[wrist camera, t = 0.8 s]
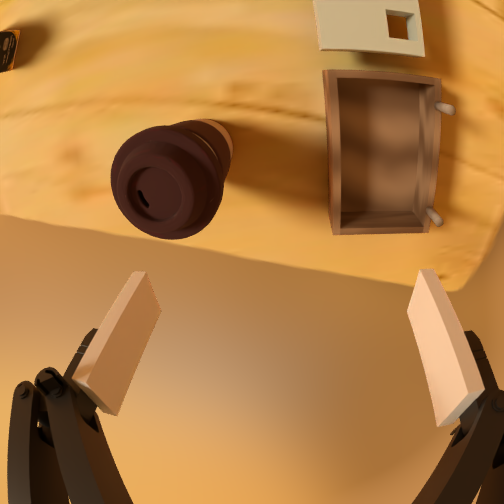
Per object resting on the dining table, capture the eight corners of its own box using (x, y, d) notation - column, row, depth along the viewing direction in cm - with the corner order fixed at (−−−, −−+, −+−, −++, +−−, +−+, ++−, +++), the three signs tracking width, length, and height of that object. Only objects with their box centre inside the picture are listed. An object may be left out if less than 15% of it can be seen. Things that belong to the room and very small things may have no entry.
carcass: (322, 70, 27) (331, 68, 21) (422, 76, 25) (455, 80, 19) (328, 215, 37) (336, 249, 31) (415, 213, 35) (438, 246, 29)
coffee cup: (251, 114, 31) (224, 143, 19) (238, 191, 37) (208, 261, 25) (169, 103, 31) (98, 128, 19) (163, 177, 37) (104, 237, 25)
